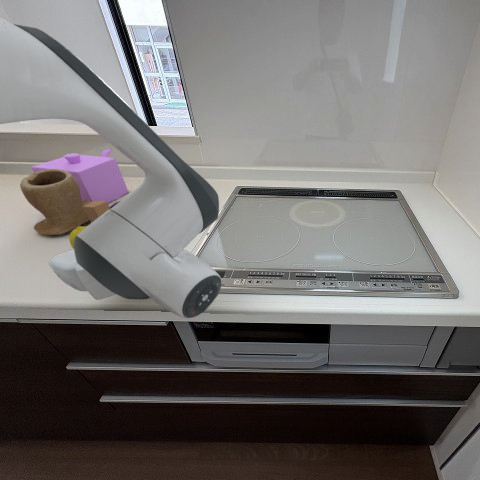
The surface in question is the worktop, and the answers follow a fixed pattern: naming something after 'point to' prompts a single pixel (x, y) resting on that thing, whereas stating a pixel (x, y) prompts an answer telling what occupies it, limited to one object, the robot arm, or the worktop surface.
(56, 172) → the stone cup
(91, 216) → the sponge wand
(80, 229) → the lemon
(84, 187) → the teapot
